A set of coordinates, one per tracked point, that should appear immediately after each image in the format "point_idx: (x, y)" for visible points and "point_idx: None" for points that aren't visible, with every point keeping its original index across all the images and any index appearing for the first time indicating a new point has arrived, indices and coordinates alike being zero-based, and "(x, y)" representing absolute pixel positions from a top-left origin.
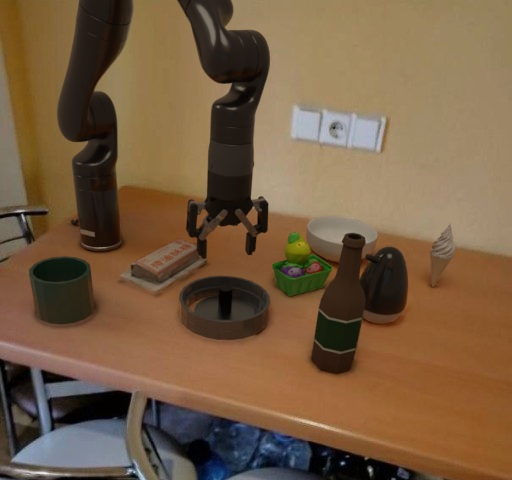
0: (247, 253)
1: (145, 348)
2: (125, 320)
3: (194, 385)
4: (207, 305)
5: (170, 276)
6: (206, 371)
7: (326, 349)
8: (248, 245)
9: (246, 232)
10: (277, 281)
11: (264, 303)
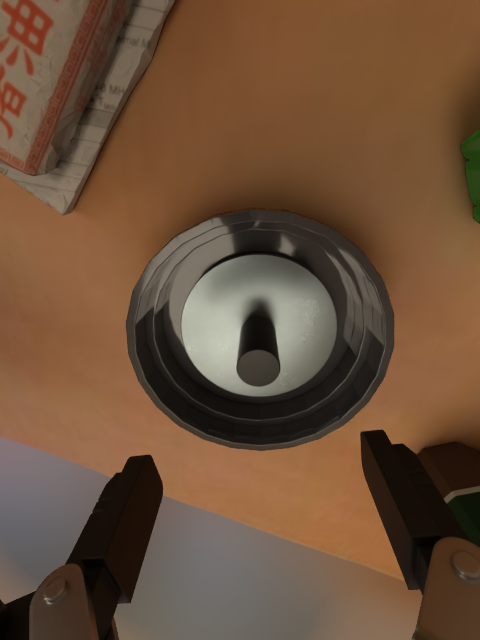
0: (363, 460)
1: (100, 417)
2: (32, 328)
3: (193, 499)
4: (213, 310)
5: (84, 113)
6: (212, 475)
7: None
8: (382, 509)
9: (411, 539)
10: (471, 153)
11: (371, 327)
